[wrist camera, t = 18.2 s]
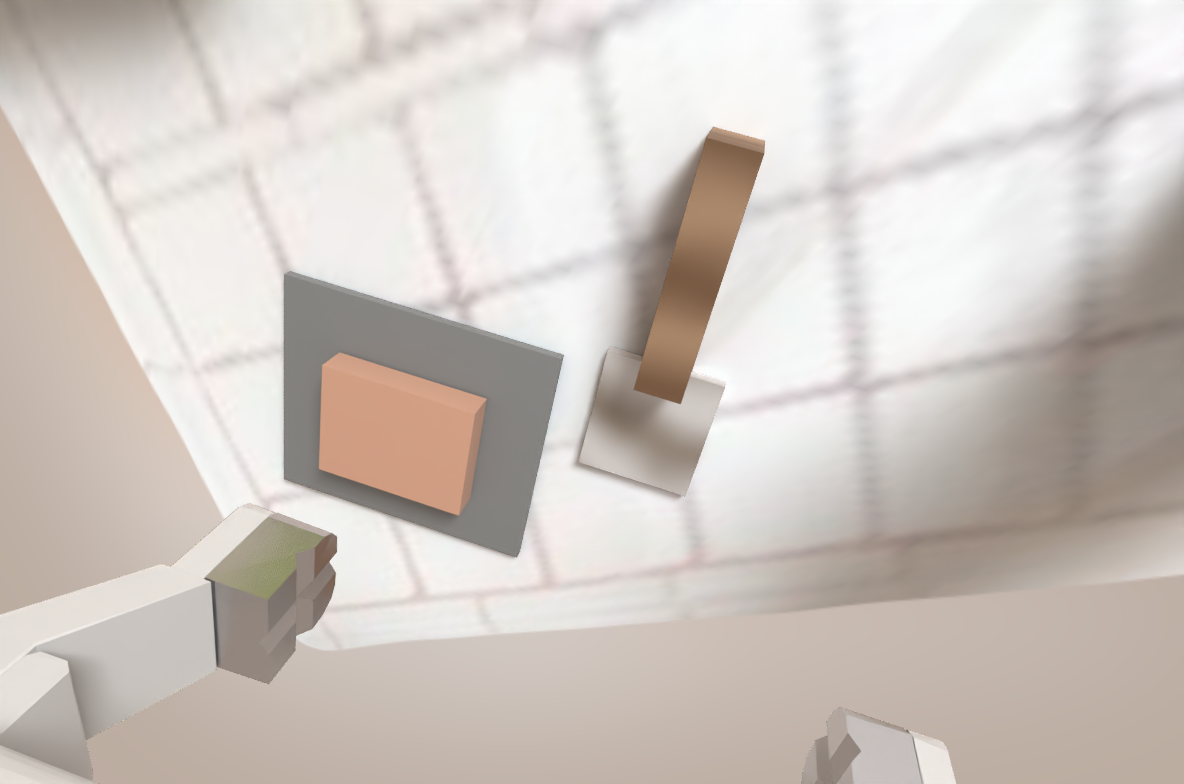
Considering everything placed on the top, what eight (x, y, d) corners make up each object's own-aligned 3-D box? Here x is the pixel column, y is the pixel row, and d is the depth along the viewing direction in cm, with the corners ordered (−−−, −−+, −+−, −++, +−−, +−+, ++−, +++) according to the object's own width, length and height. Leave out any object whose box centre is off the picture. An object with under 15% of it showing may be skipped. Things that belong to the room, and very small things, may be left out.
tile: (475, 413, 42) (458, 515, 45) (487, 397, 43) (471, 496, 47) (322, 365, 43) (318, 468, 46) (340, 351, 44) (336, 452, 48)
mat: (563, 355, 42) (561, 359, 41) (519, 552, 49) (516, 557, 49) (290, 271, 43) (283, 274, 43) (288, 474, 51) (284, 478, 51)
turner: (670, 115, 34) (658, 124, 31) (808, 152, 34) (814, 166, 30) (581, 455, 45) (564, 494, 41) (686, 489, 44) (678, 532, 40)
